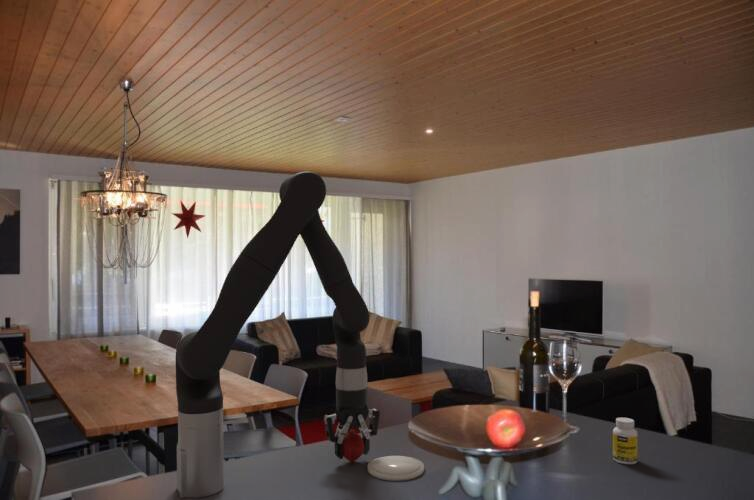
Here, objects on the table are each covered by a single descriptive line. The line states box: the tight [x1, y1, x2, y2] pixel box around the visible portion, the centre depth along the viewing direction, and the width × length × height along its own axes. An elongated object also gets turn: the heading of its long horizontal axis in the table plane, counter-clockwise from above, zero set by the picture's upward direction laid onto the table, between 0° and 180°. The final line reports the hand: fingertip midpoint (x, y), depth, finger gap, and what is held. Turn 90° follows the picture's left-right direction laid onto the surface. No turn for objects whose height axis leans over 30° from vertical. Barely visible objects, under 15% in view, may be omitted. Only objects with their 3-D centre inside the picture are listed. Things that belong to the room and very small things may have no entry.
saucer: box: [367, 455, 425, 482], centre depth 135 cm, size 13×13×1 cm
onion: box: [342, 428, 364, 463], centre depth 140 cm, size 6×6×8 cm
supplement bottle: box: [612, 417, 639, 465], centre depth 139 cm, size 5×5×10 cm
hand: (352, 455), depth 140 cm, fingers closed on onion, 5 cm apart
